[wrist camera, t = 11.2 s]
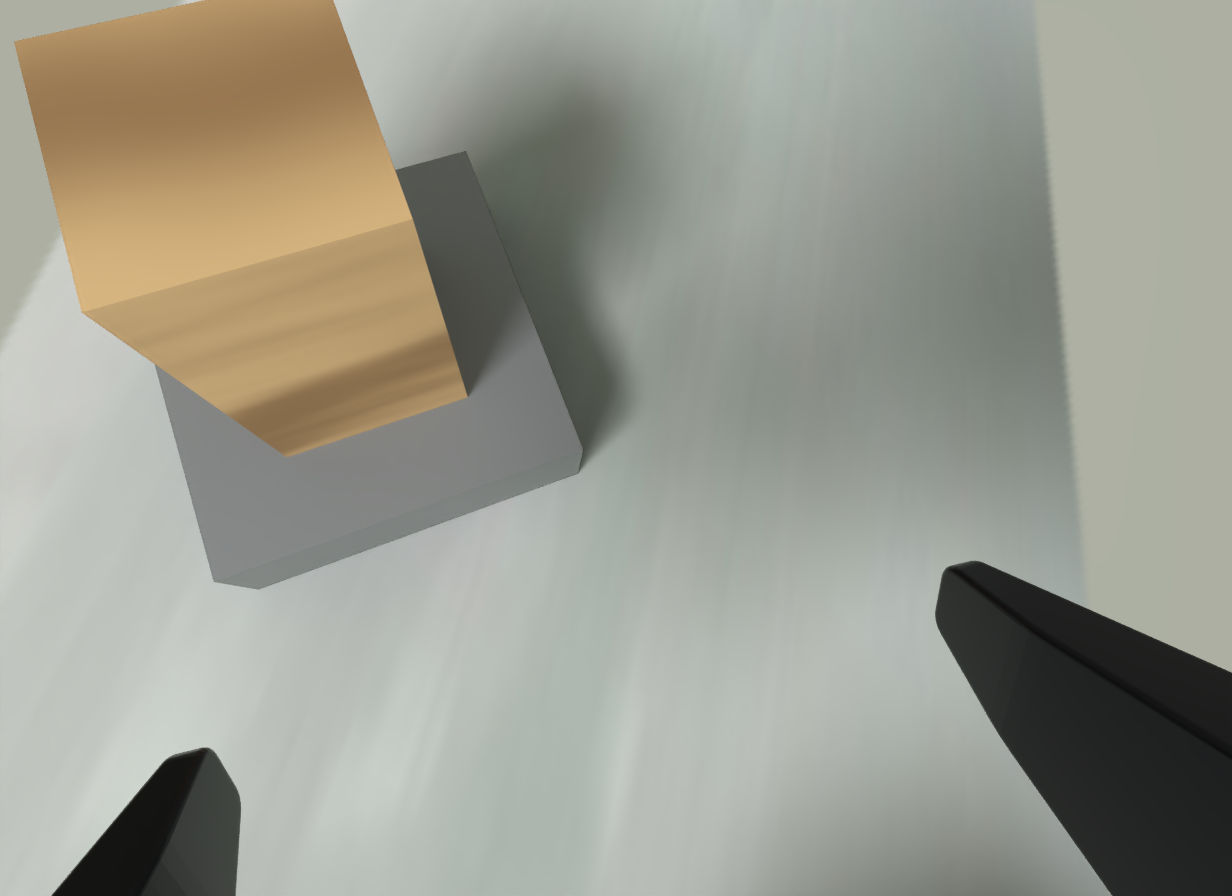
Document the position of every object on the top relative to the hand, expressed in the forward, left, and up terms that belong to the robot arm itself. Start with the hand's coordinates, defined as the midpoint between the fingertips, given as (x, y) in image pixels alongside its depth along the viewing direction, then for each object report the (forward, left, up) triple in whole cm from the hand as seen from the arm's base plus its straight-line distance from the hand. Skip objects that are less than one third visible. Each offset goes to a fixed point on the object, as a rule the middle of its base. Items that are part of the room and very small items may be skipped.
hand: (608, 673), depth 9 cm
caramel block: (+9, +4, -10) cm, 15 cm away
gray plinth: (+9, +4, -13) cm, 17 cm away
